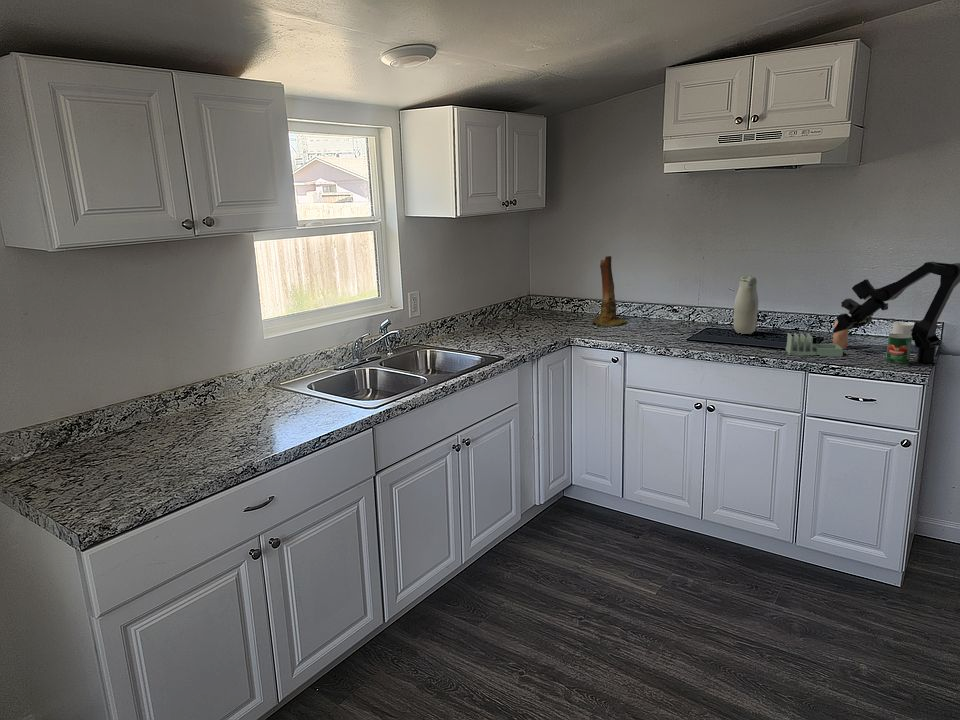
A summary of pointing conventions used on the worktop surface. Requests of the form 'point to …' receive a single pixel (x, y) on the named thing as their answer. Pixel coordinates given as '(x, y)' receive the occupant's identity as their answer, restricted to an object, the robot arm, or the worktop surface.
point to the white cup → (902, 328)
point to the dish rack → (810, 346)
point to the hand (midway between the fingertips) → (839, 330)
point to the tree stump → (608, 297)
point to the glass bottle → (746, 306)
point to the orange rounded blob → (840, 337)
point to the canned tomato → (898, 349)
